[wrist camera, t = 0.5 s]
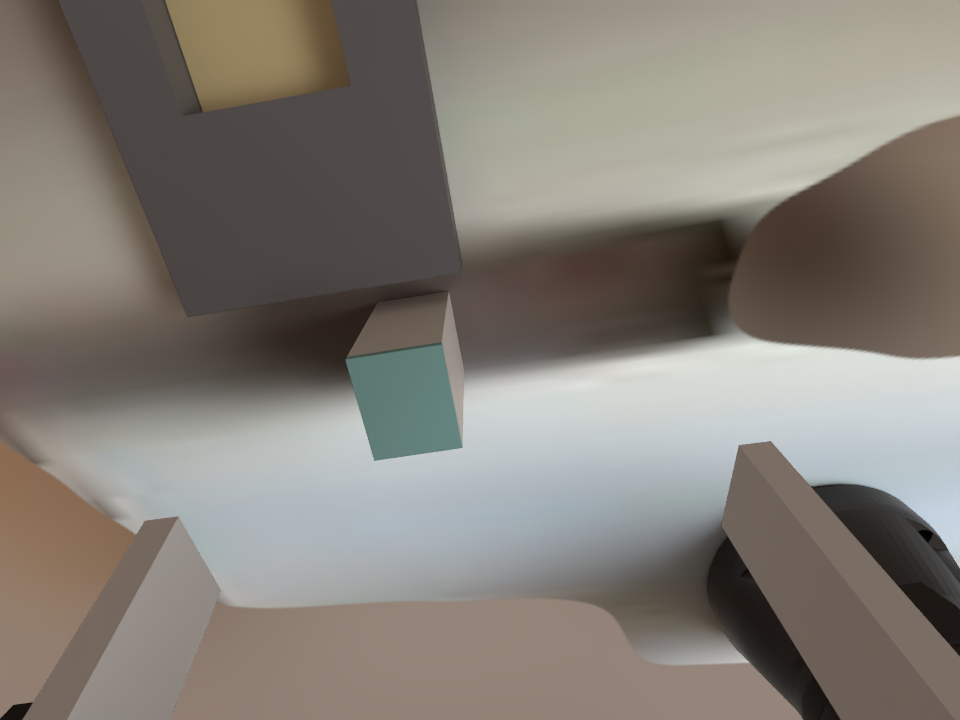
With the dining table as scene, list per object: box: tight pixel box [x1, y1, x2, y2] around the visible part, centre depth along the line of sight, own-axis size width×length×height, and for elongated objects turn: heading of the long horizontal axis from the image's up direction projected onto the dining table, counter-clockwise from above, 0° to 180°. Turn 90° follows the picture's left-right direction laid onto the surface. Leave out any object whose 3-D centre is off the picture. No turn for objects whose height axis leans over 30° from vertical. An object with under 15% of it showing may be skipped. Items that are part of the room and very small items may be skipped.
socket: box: [58, 0, 462, 317], centre depth 23 cm, size 20×14×2 cm
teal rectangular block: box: [345, 291, 464, 461], centre depth 25 cm, size 5×4×8 cm
